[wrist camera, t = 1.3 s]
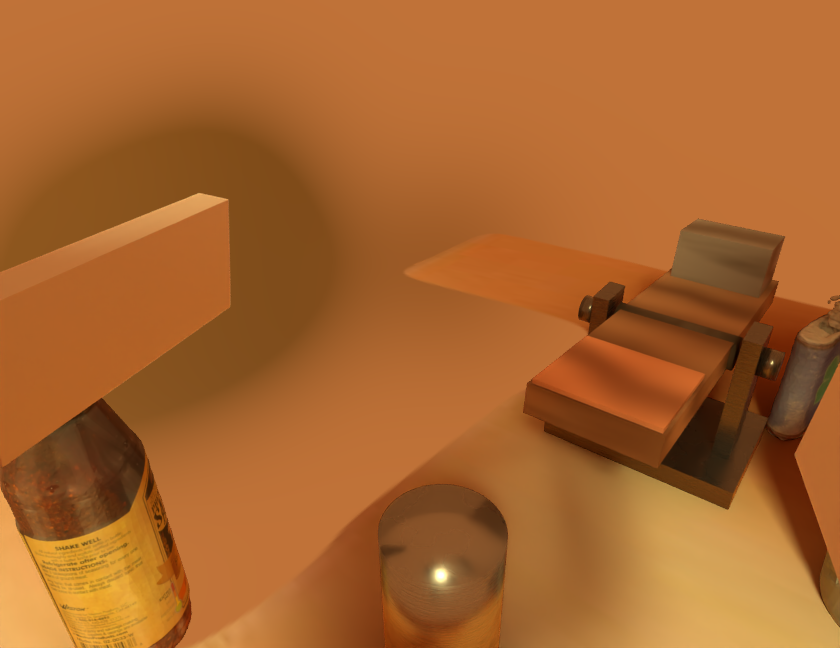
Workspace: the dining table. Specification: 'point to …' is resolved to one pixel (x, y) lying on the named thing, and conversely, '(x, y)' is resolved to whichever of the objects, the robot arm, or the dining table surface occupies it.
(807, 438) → the robot arm
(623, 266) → the dining table surface
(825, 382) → the flask
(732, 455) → the beam stand
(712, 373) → the beam
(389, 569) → the glass jar
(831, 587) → the grey cylindrical container
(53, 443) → the sauce bottle
